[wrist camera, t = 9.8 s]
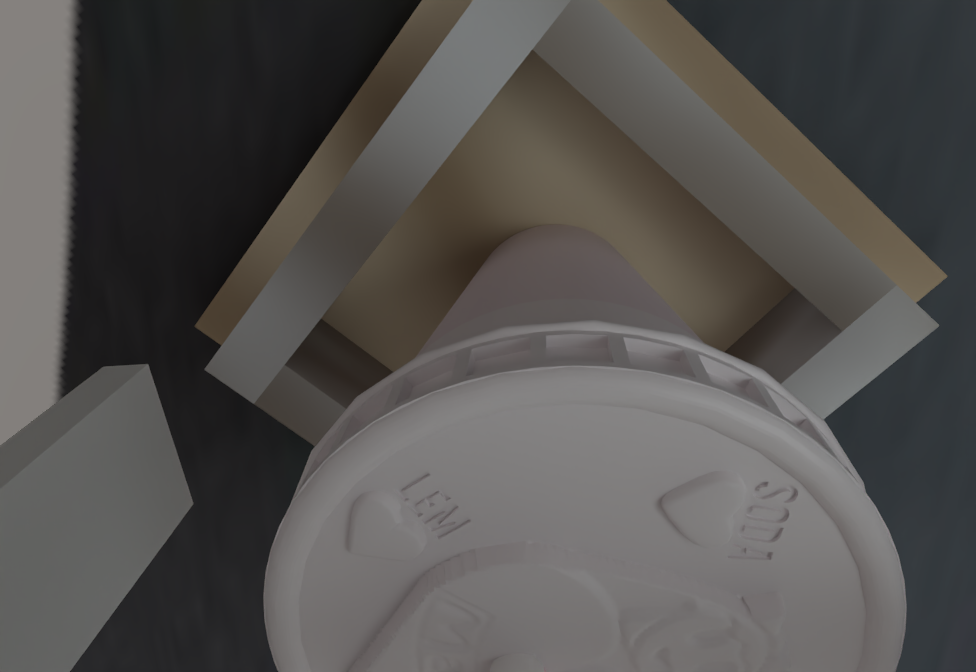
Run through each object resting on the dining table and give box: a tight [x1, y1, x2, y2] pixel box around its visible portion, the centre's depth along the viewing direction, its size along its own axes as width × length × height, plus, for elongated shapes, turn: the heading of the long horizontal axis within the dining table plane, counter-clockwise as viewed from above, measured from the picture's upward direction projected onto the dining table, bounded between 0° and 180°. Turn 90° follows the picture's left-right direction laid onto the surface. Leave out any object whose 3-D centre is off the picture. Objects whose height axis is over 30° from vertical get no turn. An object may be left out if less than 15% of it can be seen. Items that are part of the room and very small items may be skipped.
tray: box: [194, 0, 948, 446], centre depth 15 cm, size 12×12×4 cm
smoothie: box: [263, 224, 907, 672], centre depth 9 cm, size 6×6×14 cm
